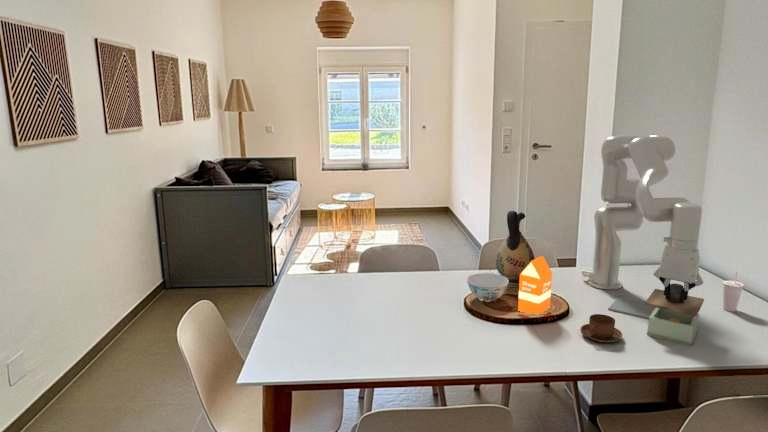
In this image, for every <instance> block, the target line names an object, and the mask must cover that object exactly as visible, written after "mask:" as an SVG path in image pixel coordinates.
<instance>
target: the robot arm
mask: <svg viewBox="0 0 768 432" xmlns="http://www.w3.org/2000/svg"><path fill="white" fill-rule="evenodd" d="M675 154H676V146H675V143H674V141H673V140H672V139H671V138H670V137H668V136H666V135H664V136H663V135H655V134H653V135H652V134H619V135H613V136H608V137H606V139H605V140H604V141H603V143H602V145H601V160H602V164H603V165H602V166H603V168H602V175H601V176H602V177H601V178H602V179H601V188H600V189H601V190H600V197H601V200H602V201H603V202H604V203H606V204H613V205H614V204H616V205H614V206H604V207H600V208H598V209H597V210H596V211H595V213H594V215H593V219H594V230H595V231H594V232H595V236H594V251H593V252H594V253H593V261H592V263H593V264H592V270H590V271H588V270H585V269H582V270H581V275H582V276H583V277H587V278H588V279H587V284H588V285H589V286H590V287H594V288H597V289H601V290H619V289H621V288H622V286H623V282H621V281H620V280H619V275H620V264H621V263H620V261H621V252H622V251H621V250H622V240H621V238H620V237H619V235H618V234H617V232H621V231H622V232H624V231H625V232H626V231H627V232H629V231H637V230H639V229H640V228H641V227H642V224H643V220H644V219H645V220H647V221H648V222H653V223H659V222H661V223H662V222H671V223H670V227H669V228H670V229H669V236H667V237H666V236H664V237H663V242H666V243H667V244H666V245H665V246H664V249H663V251H662V254H661V259H660V264H659V265H660V266H659V267H658V268H657V269H656V270H655V271H654V273H653V276H654V277H655V278H657V279H658V280H659V281H660V282H661V283H662V285H663V287H664V289H663V290H664V295H665V296H666V297H665V299H668V298H669V291H670V284H671V283H670V282H671V280H672V281H677V282H681V283H682V282H683V290H682V294H681V301H680V302H681V303H683V302H684V300H687V296H689V291H690V290H691V289H693V288H695V287H700V286H702V285H704V280H703V278H702V276H701V274H700V272H699V271H700V250H699V249H698V241H699V233H700V227H701V220H702V212H703V208H702V206H701V205H699V204H697V203H693V202H691V201H689V200H688V199H687V198H685V197H654V196H653V195H652V192H651V190H650V187H652V186H654V185H656V184H658V183H661V182H662V181H663V180H665V179H666V178H667V176H668V174H669V168H668V166H667V164H666V162H667V161H670V160H671V159H672V158H673V157H674V156H675ZM625 159H630V160H632V163H633V164H634V166H635V168H636V170H637V173H638V175H639V177H640V179H638V178H628V171H629V169H628V165H627V163H626V161H625ZM665 161H666V162H665ZM617 204H619V205H620V204H626V205H624V206H623V205H622V206H621V205H620V206H619V205H617Z"/></svg>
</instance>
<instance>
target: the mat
mask: <svg viewBox="0 0 768 432" xmlns="http://www.w3.org/2000/svg"><path fill="white" fill-rule="evenodd" d="M646 301H647V300H644V299H638V298H634V297H629V296H624V295H618V297H617V298H616V299H615V300H614V301H613V302H612V304H611V305H609V307H608V309H607V310H608V311H613V312H617V313H621V314H625V315H629V316H634V317H638V318H643V319H647V320H649V317H650V315H651V314H652V312H653V311H654V310H655V308H656V307H652V306H648V305H645V302H646Z"/></svg>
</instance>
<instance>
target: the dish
mask: <svg viewBox="0 0 768 432" xmlns="http://www.w3.org/2000/svg"><path fill="white" fill-rule="evenodd" d="M700 315H701V314H700V313H698V314H697V316H692V315H687V314H683V313H678V312H674V311H670V310H665V309H661V308H657V307H656V308H655V310H654V311H653V312H652V314H651V315H650V317H649V319H648V324H647V331H646V332H647V333H646V335H647V336H650V337H653V338H658V339H662V340H666V341H670V342H674V343H678V344H682V345H686V346H690V347H691V346H692V344H693V342H694V340H695V338H696V335H697V334H698V330H699V323H700V322H699V321H700ZM670 318H675V319H677V320H679V322H680V323H678V322H674V321H669V320H668V319H670Z"/></svg>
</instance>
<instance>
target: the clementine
mask: <svg viewBox="0 0 768 432" xmlns="http://www.w3.org/2000/svg"><path fill="white" fill-rule="evenodd" d="M668 320H669V321H674V322H678V323H680V322H679V320H677V319H675V318H670V319H668Z"/></svg>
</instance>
